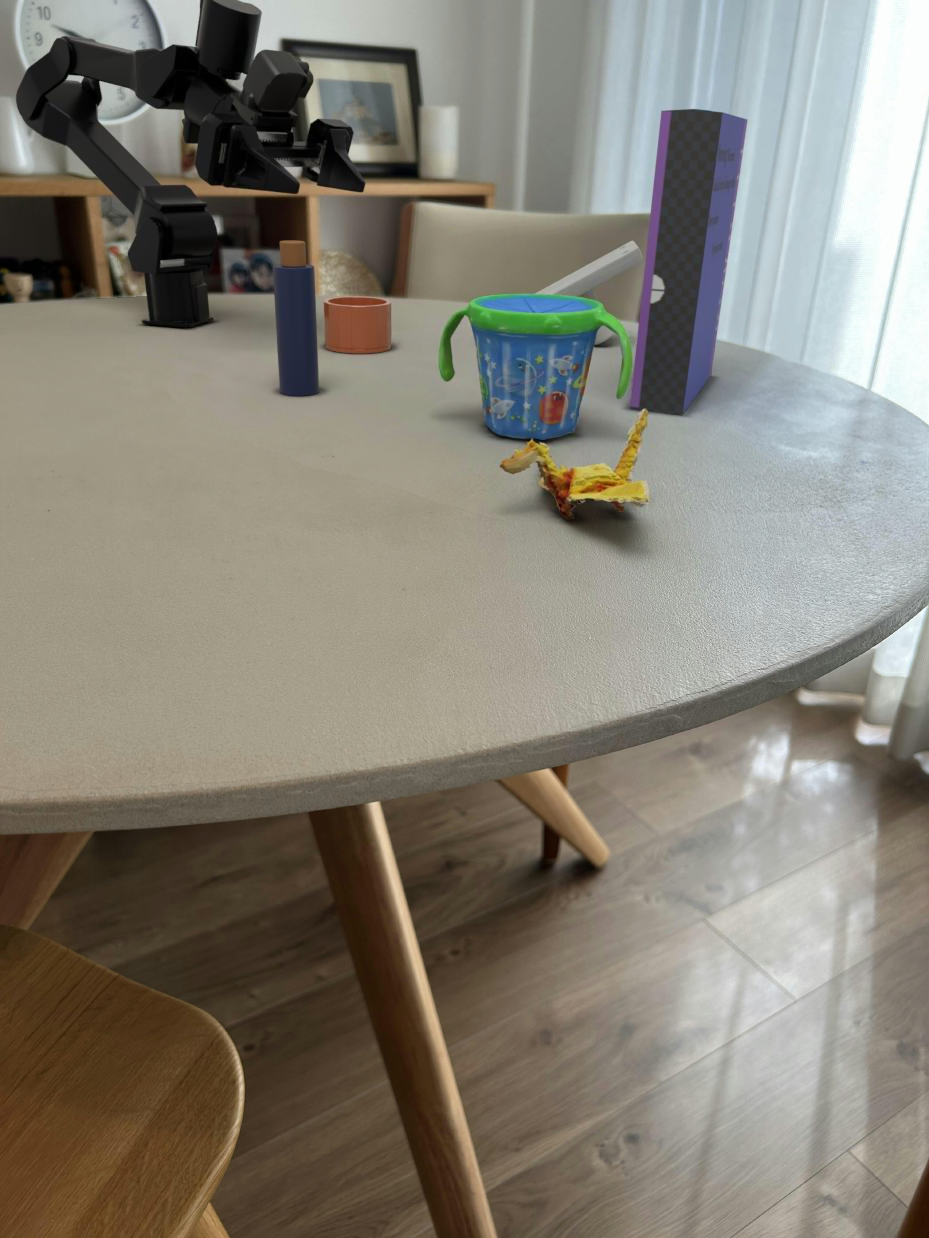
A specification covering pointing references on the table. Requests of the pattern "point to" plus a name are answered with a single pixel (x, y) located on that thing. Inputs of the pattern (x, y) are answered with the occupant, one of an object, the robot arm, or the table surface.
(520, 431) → the snack cup
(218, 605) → the table surface
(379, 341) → the terracotta round pot
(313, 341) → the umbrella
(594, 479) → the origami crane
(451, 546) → the table surface
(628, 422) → the table surface
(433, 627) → the table surface
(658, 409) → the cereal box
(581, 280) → the door handle
